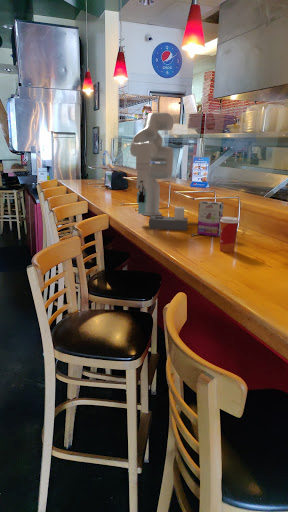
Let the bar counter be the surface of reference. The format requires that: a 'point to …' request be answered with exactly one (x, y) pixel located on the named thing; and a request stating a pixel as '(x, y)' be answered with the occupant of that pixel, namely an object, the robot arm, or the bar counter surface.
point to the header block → (170, 221)
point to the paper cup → (228, 234)
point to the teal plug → (142, 204)
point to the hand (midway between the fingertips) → (142, 201)
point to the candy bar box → (210, 218)
